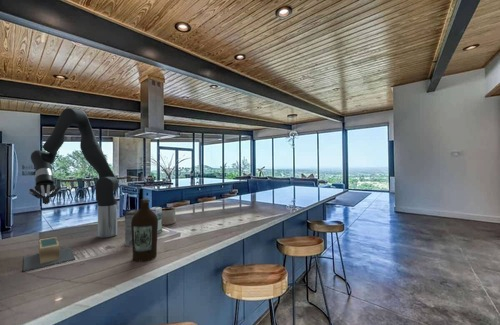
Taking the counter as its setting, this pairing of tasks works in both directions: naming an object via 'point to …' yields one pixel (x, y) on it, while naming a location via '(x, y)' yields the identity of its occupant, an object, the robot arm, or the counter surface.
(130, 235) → the coffee box
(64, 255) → the rubber mat
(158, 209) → the syrup box
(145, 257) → the olive oil
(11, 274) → the counter surface
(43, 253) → the oak block
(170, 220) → the planter
